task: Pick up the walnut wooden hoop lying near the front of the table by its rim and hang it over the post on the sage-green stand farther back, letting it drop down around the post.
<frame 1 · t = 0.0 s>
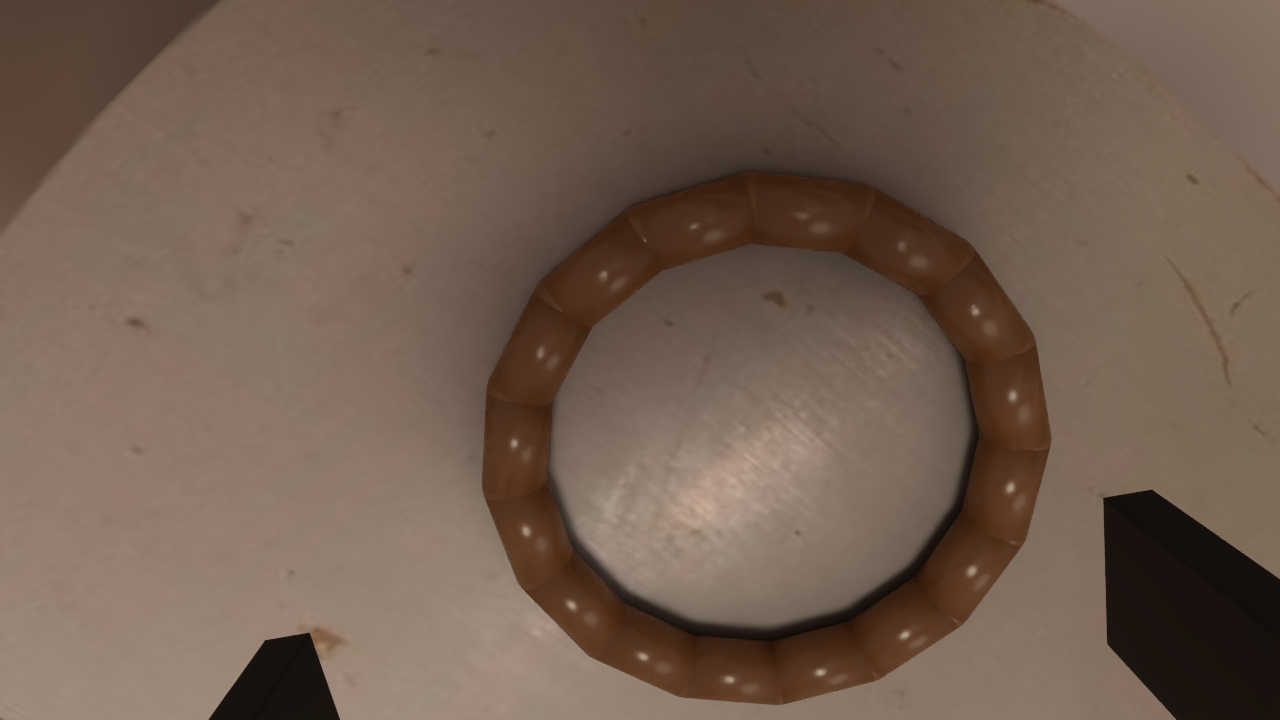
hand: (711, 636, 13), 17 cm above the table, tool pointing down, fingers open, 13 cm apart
ring: (763, 460, 30), point 1 cm above the table
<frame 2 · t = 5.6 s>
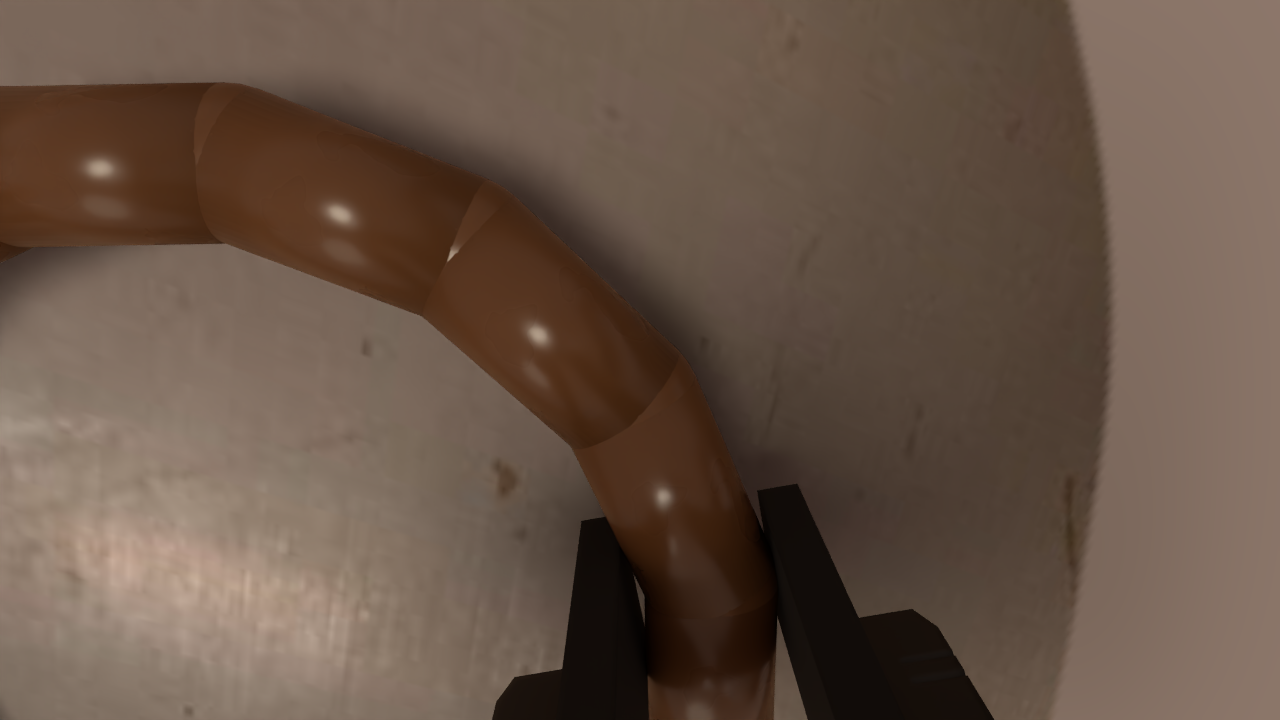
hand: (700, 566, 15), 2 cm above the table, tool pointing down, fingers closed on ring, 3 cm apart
ring: (216, 674, 15), point 3 cm above the table, touching gripper
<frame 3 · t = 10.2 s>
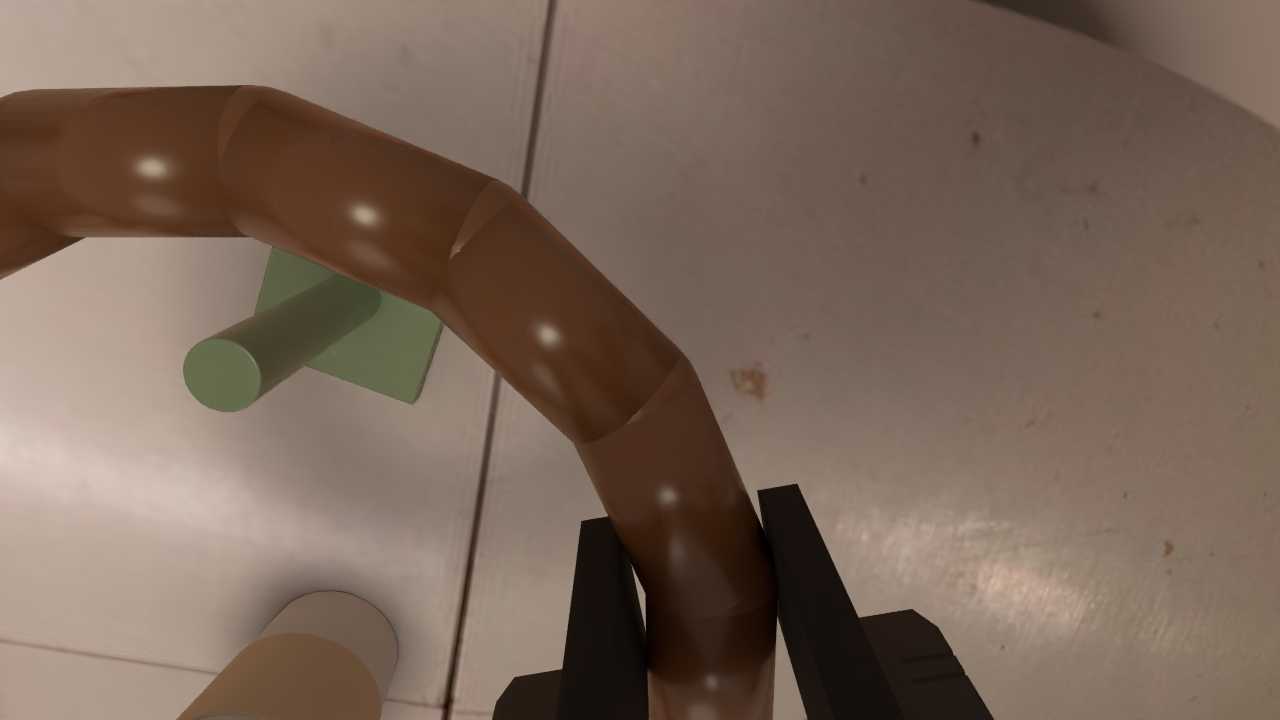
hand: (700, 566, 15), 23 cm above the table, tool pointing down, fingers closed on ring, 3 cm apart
post: (361, 292, 37), on the table
ring: (247, 638, 16), point 23 cm above the table, tilted 6°, touching gripper
coffee cup: (335, 645, 43), on the table
when the fingers open (8 cm above the table, at t = 14.6 s): ring drops 5 cm, point 1 cm above the table.
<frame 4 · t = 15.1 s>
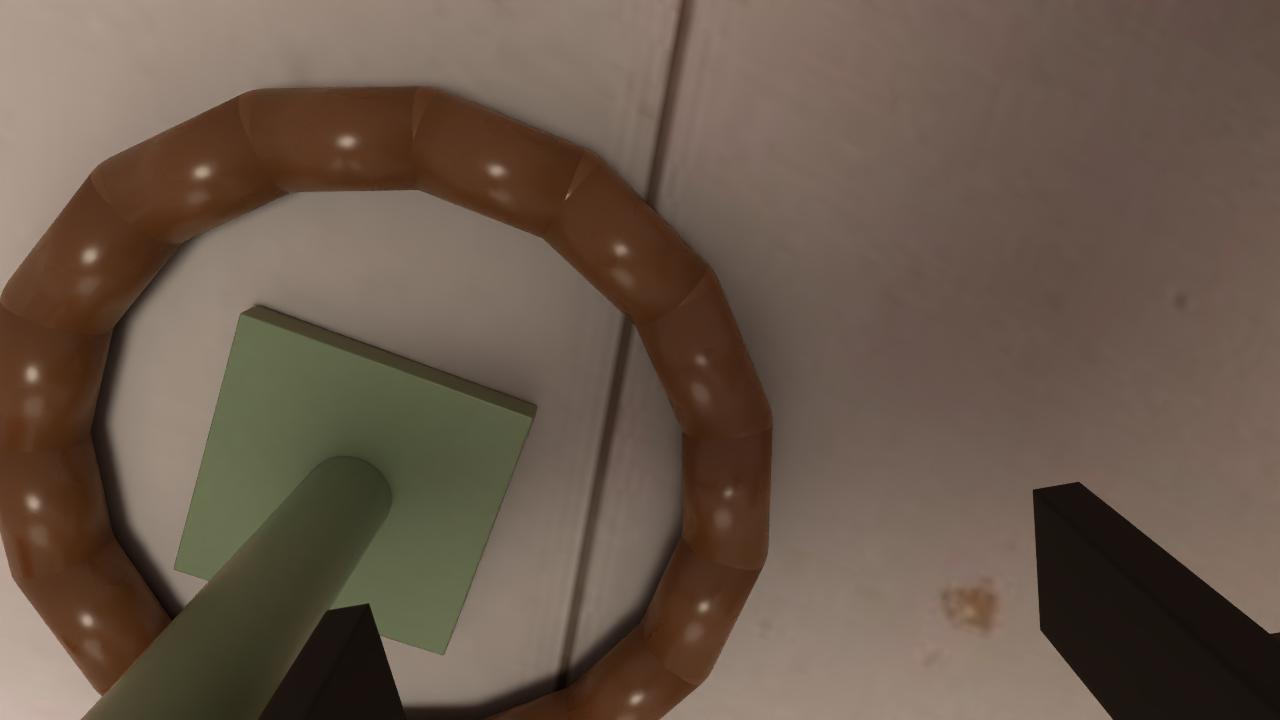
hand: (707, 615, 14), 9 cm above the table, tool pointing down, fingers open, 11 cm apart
post: (360, 480, 23), on the table
ring: (388, 489, 22), point 1 cm above the table
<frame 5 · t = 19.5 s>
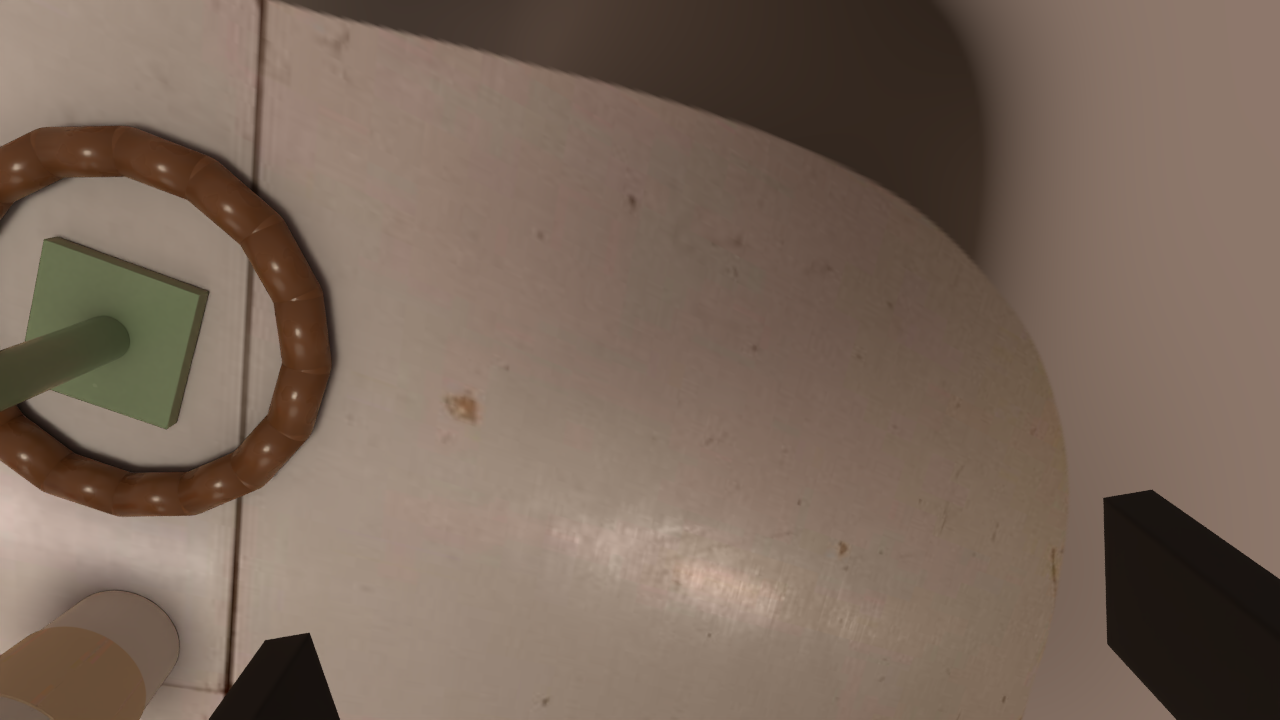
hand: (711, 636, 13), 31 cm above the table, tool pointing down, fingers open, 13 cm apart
post: (118, 332, 43), on the table
ring: (126, 333, 42), point 1 cm above the table
coffee cup: (124, 638, 49), on the table
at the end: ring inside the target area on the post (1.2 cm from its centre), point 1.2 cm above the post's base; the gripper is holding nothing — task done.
